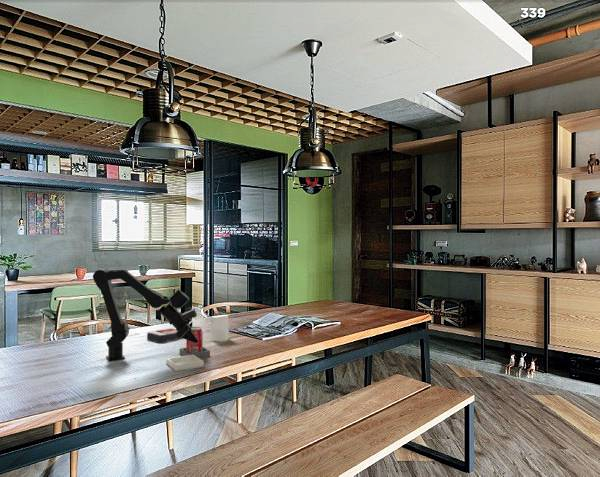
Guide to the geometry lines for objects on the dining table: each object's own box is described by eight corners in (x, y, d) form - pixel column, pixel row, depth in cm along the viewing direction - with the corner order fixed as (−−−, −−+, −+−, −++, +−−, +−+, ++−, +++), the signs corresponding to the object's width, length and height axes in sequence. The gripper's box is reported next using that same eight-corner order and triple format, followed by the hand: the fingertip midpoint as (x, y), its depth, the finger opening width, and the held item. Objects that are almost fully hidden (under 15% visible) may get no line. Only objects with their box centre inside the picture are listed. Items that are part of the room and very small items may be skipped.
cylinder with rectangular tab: (216, 342, 218) (216, 318, 218) (207, 338, 225) (207, 315, 225) (231, 339, 224) (231, 316, 224) (222, 336, 231) (222, 313, 231)
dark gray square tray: (179, 354, 196) (179, 348, 196) (200, 350, 202) (201, 345, 202) (187, 359, 188) (187, 353, 188) (209, 356, 194) (210, 350, 194)
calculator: (184, 330, 227) (160, 334, 215) (184, 339, 227) (159, 343, 215) (171, 327, 234) (147, 331, 222) (171, 335, 234) (146, 339, 222)
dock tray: (166, 364, 182) (166, 358, 182) (193, 359, 188) (193, 354, 188) (175, 371, 172) (176, 365, 172) (203, 366, 179) (203, 361, 179)
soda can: (197, 351, 200) (197, 325, 200) (205, 355, 195) (205, 328, 195) (183, 354, 195) (183, 327, 195) (191, 358, 190) (191, 330, 190)
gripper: (184, 306, 185) (210, 331, 187) (187, 299, 203) (211, 322, 205) (165, 325, 183) (191, 350, 186) (169, 316, 202) (193, 339, 204)
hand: (197, 340), depth 195 cm, fingers closed on soda can, 7 cm apart
